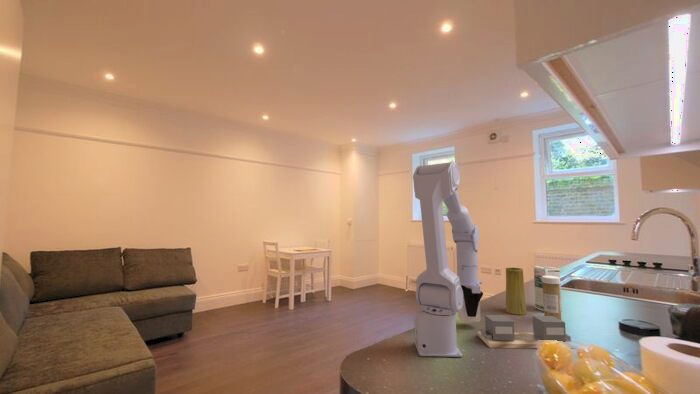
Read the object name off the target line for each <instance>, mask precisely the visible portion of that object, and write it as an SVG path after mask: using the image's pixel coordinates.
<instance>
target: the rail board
mask: <svg viewBox="0 0 700 394" xmlns="http://www.w3.org/2000/svg"><path fill="white" fill-rule="evenodd" d="M484 320H485V321H484V322H485V323H484V325H485V329H480V331H477V336H478V337H479V338H480V340H481V341H483V343H485V344H486V346H488V348H491V349H492V348H493V349H496V348H497V349H499V348H500V349H530V348H536V342H537V341H538V340H557V341H563V342H569V343H574V342H572V339H571V336H570V335H568V334H567V333H566V322H565V321H564V320H562V319H561V320H560V319H558V318H556V317H554V316H544V315H532V328H533V329H532V331H533V332H525V331H524V332H523V331H522V332H520V331H515V321H514V320H512V319H511V318H510V317H508V316H507V315H505V314H504V315H503V314H495V315H494V314H489V315H488V314H485V315H484Z"/></svg>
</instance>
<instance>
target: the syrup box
mask: <svg viewBox="0 0 700 394" xmlns="http://www.w3.org/2000/svg"><path fill="white" fill-rule="evenodd" d="M542 276H556V277H559V279H560V280H561V268H558V267H551V266H545V265H534V266H533V278H534V279H533V284H534V285H533V286H534V308H535V309H536V308H537V309H536V310H539V311H542V312H544V304H543V284H542ZM561 285H562V284H561V281H560V284H559V289H560V302H561V313H562V311H563V309H562V308H563V307H562V288H561V287H562V286H561Z"/></svg>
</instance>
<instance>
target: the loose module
mask: <svg viewBox="0 0 700 394" xmlns="http://www.w3.org/2000/svg"><path fill="white" fill-rule="evenodd" d="M457 317H458V318H459V319H460V321H462V322H481V302H479V304H478V309H477V314H476V317H468V315H467V312H466V306H465V301H464V299H463V305H462V308H461V310H459V312H457Z"/></svg>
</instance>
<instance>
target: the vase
mask: <svg viewBox="0 0 700 394" xmlns="http://www.w3.org/2000/svg"><path fill="white" fill-rule="evenodd" d="M526 303H527V302H526V291H525V280H524V270H523V268H521V267H506V268H505V312H506V313H508V314H510V315H516V316H517V315H518V316H525V315H527V314H528V312H527V307H526V306H527V305H526Z"/></svg>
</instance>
